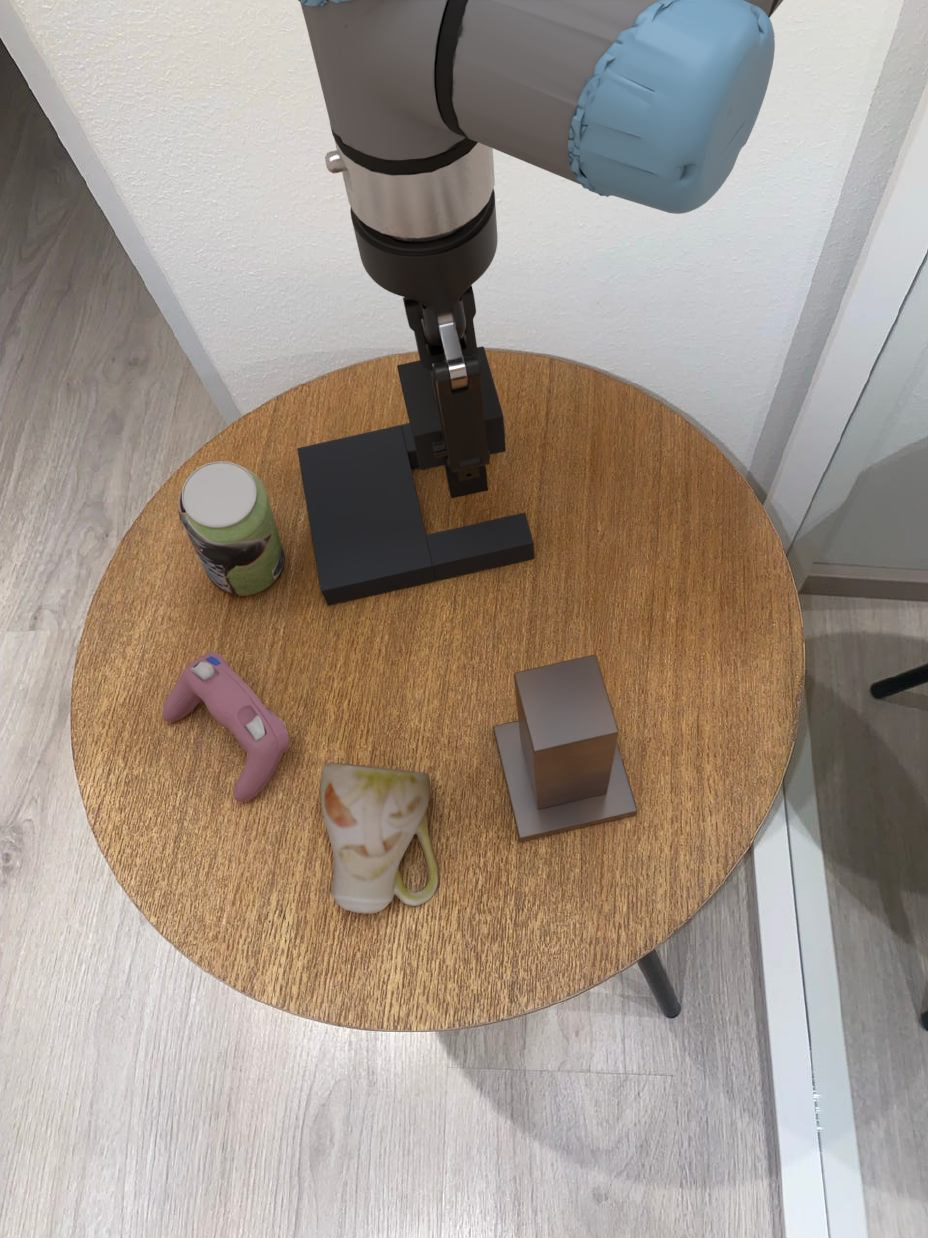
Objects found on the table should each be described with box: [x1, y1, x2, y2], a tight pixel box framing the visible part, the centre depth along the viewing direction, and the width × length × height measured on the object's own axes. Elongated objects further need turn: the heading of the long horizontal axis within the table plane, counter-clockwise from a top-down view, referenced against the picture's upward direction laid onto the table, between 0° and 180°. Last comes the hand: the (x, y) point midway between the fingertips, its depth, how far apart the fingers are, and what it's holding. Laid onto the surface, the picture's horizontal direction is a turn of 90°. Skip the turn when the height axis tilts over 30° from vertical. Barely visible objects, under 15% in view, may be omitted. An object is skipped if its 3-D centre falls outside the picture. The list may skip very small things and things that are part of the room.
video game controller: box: [161, 650, 291, 803], centre depth 67 cm, size 10×5×7 cm, turn 44°
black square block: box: [396, 346, 507, 471], centre depth 66 cm, size 6×6×4 cm
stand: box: [492, 654, 638, 842], centre depth 60 cm, size 8×8×14 cm
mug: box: [319, 762, 440, 914], centre depth 63 cm, size 8×10×10 cm
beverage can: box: [177, 460, 285, 596], centre depth 70 cm, size 6×7×12 cm
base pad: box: [296, 422, 535, 606], centre depth 75 cm, size 16×13×2 cm
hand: (458, 451), depth 71 cm, fingers closed on black square block, 6 cm apart
